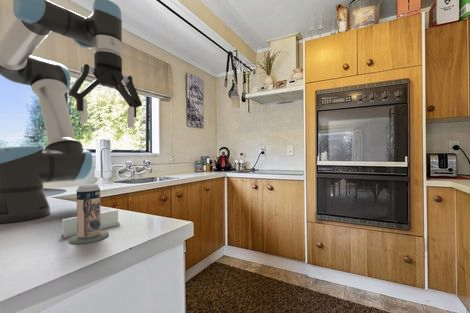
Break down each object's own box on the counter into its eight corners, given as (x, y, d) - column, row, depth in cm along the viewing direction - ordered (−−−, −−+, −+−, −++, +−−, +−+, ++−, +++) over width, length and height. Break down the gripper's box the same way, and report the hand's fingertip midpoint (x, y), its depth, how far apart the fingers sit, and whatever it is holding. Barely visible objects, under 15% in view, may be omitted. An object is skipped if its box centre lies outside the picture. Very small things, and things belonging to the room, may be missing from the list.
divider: (61, 235, 58) (60, 218, 58) (114, 222, 68) (114, 209, 68) (65, 237, 56) (64, 220, 56) (119, 224, 66) (119, 210, 66)
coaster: (63, 239, 55) (63, 237, 55) (100, 230, 61) (100, 228, 61) (76, 247, 50) (75, 245, 50) (114, 236, 56) (114, 234, 56)
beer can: (89, 240, 52) (88, 187, 52) (71, 239, 53) (71, 186, 53) (105, 233, 57) (104, 184, 57) (88, 232, 58) (88, 184, 58)
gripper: (62, 34, 58) (63, 119, 58) (152, 64, 78) (153, 127, 78) (53, 44, 63) (55, 122, 63) (140, 69, 83) (141, 129, 83)
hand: (109, 125), depth 70 cm, fingers open, 13 cm apart
